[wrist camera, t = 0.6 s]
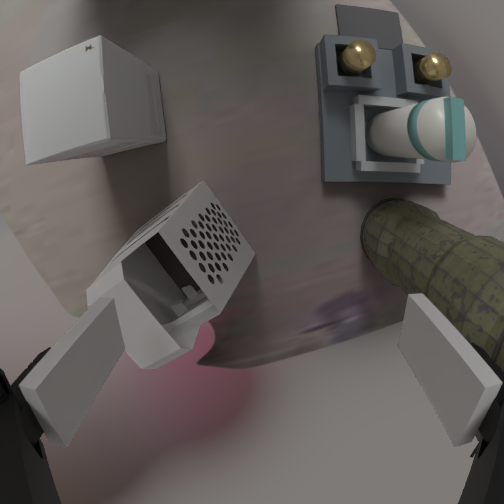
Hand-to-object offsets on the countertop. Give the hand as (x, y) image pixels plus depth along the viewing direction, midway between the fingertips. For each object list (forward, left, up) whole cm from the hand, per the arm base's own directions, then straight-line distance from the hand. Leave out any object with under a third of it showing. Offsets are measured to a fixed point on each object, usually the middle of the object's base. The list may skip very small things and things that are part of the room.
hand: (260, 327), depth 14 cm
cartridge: (-9, +14, -23) cm, 28 cm away
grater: (+3, -8, -25) cm, 26 cm away
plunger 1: (-17, +10, -21) cm, 28 cm away
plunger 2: (-17, +18, -20) cm, 32 cm away
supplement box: (-13, -15, -25) cm, 32 cm away
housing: (-12, +15, -25) cm, 31 cm away
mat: (-23, +14, -25) cm, 36 cm away
